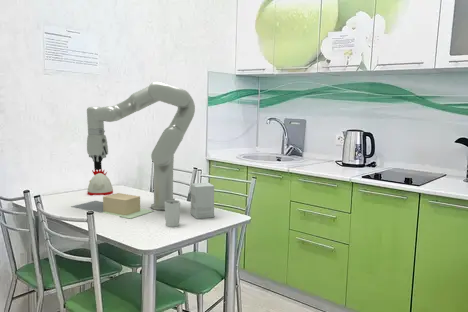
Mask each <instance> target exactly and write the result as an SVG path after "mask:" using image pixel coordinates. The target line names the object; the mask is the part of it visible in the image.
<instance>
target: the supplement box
mask: <svg viewBox="0 0 468 312" xmlns="http://www.w3.org/2000/svg"><path fill="white" fill-rule="evenodd" d="M190 214H191V216H192V217H194V218H195V219H196V220H198V219H206V218H207V219H208V218H214V217H215V185H213V184H212V183H210V182H195V183H190Z"/></svg>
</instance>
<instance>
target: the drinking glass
mask: <svg viewBox="0 0 468 312" xmlns="http://www.w3.org/2000/svg"><path fill="white" fill-rule="evenodd" d="M180 215H181V201H180V200H178V199H175V200H168V201H165V210H164V217H165V226H167V227H177V226H179V225H180V217H181V216H180Z"/></svg>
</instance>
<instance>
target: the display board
mask: <svg viewBox="0 0 468 312" xmlns="http://www.w3.org/2000/svg"><path fill="white" fill-rule="evenodd" d="M70 207H71V208H74V209H80V210H85V211H89V210H93V211H92V212H95V213H101V214H106V215H111V216H116V217H119V218H122V219H129V220H132V219H135V218H139V217H141V216H144V215H147V214H150V213H153V212H154V209H147V208H142V207H140V211H138V212H135V213H131V214H128V215H121V214H116V213H111V212H105V211H103V201H99V200H93V201H88V202H85V203H81V204H76V205H72V206H70Z"/></svg>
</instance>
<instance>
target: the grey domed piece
mask: <svg viewBox="0 0 468 312" xmlns="http://www.w3.org/2000/svg"><path fill="white" fill-rule="evenodd" d="M91 173H92V174H93V177H92V178H91V179H90V180H89V181H88V182H89V184H88V187H87V192H86V193H87V195H88V196H108V195H112V194H113V193H114V188H113V185H112V182H111V180H110V179H109V177H108V176H107V173H108V171H106V172H105V169H100V170H95V169H92V172H91Z"/></svg>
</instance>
